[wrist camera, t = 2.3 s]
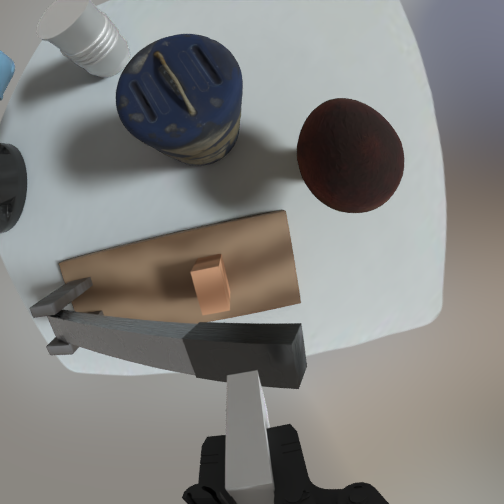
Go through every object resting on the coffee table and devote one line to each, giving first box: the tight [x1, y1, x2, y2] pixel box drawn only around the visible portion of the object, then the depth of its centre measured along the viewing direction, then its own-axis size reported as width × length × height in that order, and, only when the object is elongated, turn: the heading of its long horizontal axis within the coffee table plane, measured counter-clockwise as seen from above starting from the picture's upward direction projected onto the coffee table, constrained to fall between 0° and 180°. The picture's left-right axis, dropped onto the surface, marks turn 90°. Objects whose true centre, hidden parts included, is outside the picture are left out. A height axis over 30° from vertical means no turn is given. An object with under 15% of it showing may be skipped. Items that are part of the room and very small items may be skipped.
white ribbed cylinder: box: [36, 0, 130, 78], centre depth 21 cm, size 7×7×15 cm
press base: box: [30, 210, 301, 355], centre depth 30 cm, size 12×32×12 cm, turn 101°
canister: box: [116, 34, 243, 166], centre depth 24 cm, size 10×10×18 cm
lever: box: [47, 310, 307, 389], centre depth 21 cm, size 4×29×2 cm, turn 101°
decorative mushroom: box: [297, 98, 404, 213], centre depth 27 cm, size 11×11×15 cm
